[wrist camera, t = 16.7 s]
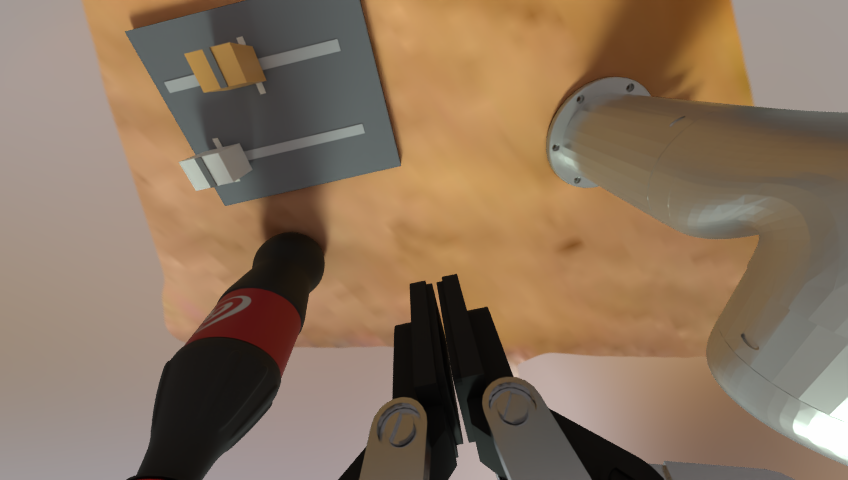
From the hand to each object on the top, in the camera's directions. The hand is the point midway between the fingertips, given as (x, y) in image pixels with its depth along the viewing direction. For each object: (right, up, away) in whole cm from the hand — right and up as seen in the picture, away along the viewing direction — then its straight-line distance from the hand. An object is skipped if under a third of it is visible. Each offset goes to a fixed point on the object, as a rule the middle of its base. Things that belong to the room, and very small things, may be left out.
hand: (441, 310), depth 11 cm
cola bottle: (-18, +1, +32) cm, 37 cm away
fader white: (-22, +11, +23) cm, 34 cm away
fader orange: (-19, +19, +19) cm, 33 cm away
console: (-16, +17, +23) cm, 33 cm away
